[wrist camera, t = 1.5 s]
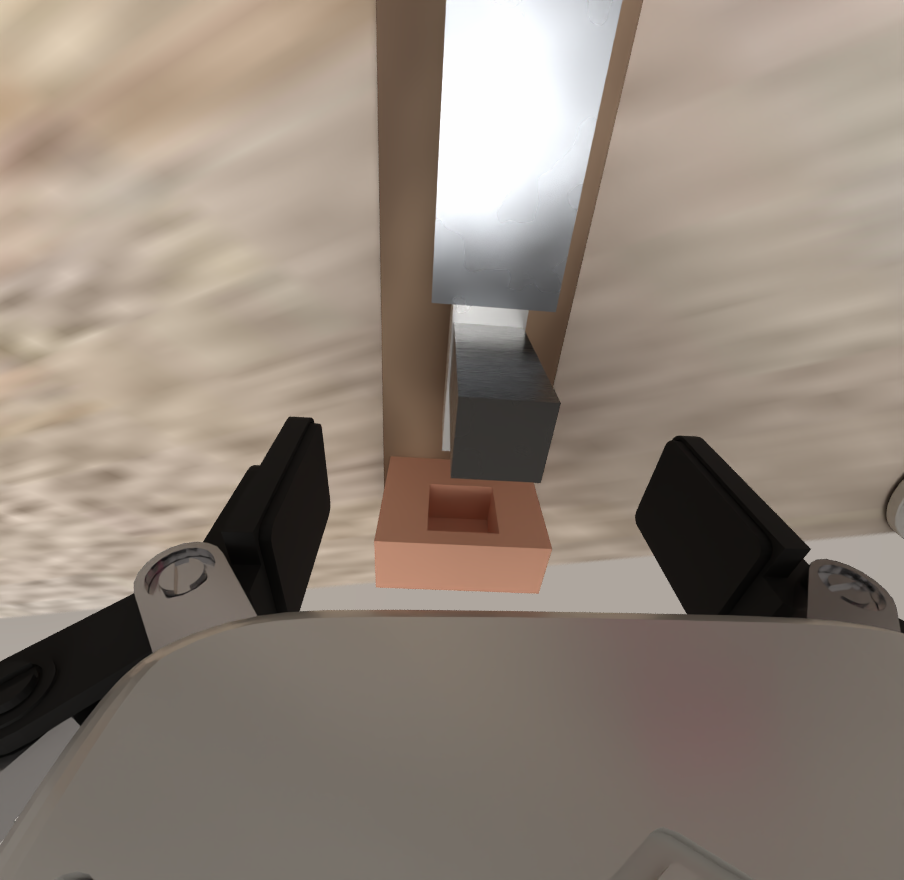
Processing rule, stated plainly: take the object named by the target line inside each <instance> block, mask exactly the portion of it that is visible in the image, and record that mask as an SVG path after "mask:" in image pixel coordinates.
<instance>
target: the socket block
mask: <svg viewBox="0 0 904 880" xmlns="http://www.w3.org/2000/svg"><path fill="white" fill-rule="evenodd" d="M374 546H375V573H376V587H380V588H407V589H432V590H458V591H485V592H511V593H536V594H538V593H539V590H540V587H541V584H542V580H543V577H544V574H545V571H546V568H547V564H548V561H549V558H550V554H551V551H552V547H551V543H550V540H549V536H548V533H547V529H546V526H545V522H544V518H543V515H542V511H541V508H540V504H539V501H538V497H537V494H536V490H535V486H534V483H532V482H513V481H494V480H475V479H456V478H451V475H450V459H433V458H415V457H397V456H391V457H390V463H389V468H388V473H387V478H386V483H385V488H384V494H383V499H382V504H381V509H380V514H379V520H378V525H377V530H376V535H375V540H374Z"/></svg>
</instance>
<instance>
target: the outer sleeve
mask: <svg viewBox="0 0 904 880" xmlns="http://www.w3.org/2000/svg"><path fill="white" fill-rule="evenodd" d="M621 5H622V0H446V18H445V38H444V58H443V79H442V99H441V119H440V140H439V160H438V181H437V201H436V221H435V242H434V262H433V282H432V303H440V304H453V305H467V306H480V307H493V308H506V309H520V310H533V311H546V312H556V309H557V304H558V299H559V294H560V290H561V285H562V280H563V276H564V271H565V266H566V262H567V257H568V252H569V248H570V243H571V238H572V234H573V229H574V224H575V220H576V215H577V210H578V206H579V201H580V196H581V192H582V187H583V182H584V178H585V173H586V168H587V164H588V159H589V154H590V150H591V145H592V140H593V136H594V131H595V126H596V122H597V117H598V112H599V108H600V103H601V98H602V94H603V89H604V84H605V80H606V75H607V70H608V66H609V61H610V56H611V52H612V47H613V42H614V38H615V33H616V28H617V24H618V19H619V14H620V10H621Z"/></svg>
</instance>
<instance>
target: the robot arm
mask: <svg viewBox="0 0 904 880" xmlns="http://www.w3.org/2000/svg"><path fill="white" fill-rule="evenodd" d="M329 513H330V495H329V486H328V477H327V469H326V460H325V451H324V442H323V434H322V427H321V424H316V423H314V420H313V418H307V417H289V418H288V419H287V420H286V422H285V424H284V426H283V427H282V429H281V431H280V432H279V434H278V436H277V437H276V439H275V441H274V443H273V444H272V446H271V448H270V449H269V451H268V453H267V454H266V456H265V458H264V460H263V461H262V463H261V465H253V466H251V467H250V468H249V469H248V470H247V472H246V474H245V475H244V477H243V478H242V480H241V482H240V483H239V485H238V486H237V488H236V490H235V491H234V493H233V494H232V496H231V498H230V499H229V501H228V503H227V504H226V506H225V507H224V509H223V511H222V512H221V514H220V515H219V517H218V519H217V520H216V522H215V523H214V525H213V527H212V528H211V530H210V532H209V533H208V535H207V536H206V538H205V540H204V541H203V542H191V543H184V544H180V545H177V546H174V547H171V548H169V549H167V550H165V551H163V552H161V553H159V554H157V555H156V556H155V557H154V558H152V559H151V560H150V561H148V562H147V563H146V564H145V565H144V566H143V568H142V569H141V570H140V571H139V572H138V574H137V577H136V579H135V581H134V594H132V595H130V596H128V597H126V598H124V599H122V600H120V601H118V602H116V603H114V604H112V605H110V606H108V607H106V608H104V609H102V610H100V611H98V612H97V613H95V614H92V615H90V616H88V617H86V618H85V619H83V620H81V621H79V622H77V623H75V624H73V625H71V626H69V627H67V628H65V629H63V630H61V631H59V632H57V633H55V634H53V635H51V636H49V637H48V638H46V639H43V640H41V641H39V642H37V643H35V644H33V645H31V646H29V647H27V648H25V649H24V650H22V651H20V652H18V653H16V654H14V655H12V656H10V657H8V658H6V659H4V660H2V661H1V662H0V842H1V841H2V840H3V839H4V840H3V842H2V843H1V845H0V880H904V621H903V620H901V619H899V618H898V613H897V608H896V605H895V603H894V600H893V598H892V597H891V596H890V595H889V593H888V592H887V591H886V590H885V589H884V588H883V587H882V586H881V585H879V584H878V583H877V582H876V581H875V580H873V579H872V578H870V577H869V576H867V575H866V574H864V573H863V572H861V571H859V570H857V569H855V568H853V567H851V566H849V565H846V564H843V563H841V562H837V561H833V560H828V559H820V560H815V561H813V562H811V564H810V565H809V564H808V563H807V562H806V561H805V560H804V559H803V558H804V557H805V556H806V555H807V553H808V552H809V551H810V550H811V549H810V548H809V547H808V546H807V545H806V544H805V543H804V542H803V541H802V540H801V538H800V537H799V536H798V535H797V534H796V533H795V532H794V531H793V530H792V529H791V528H790V527H789V526H788V525H787V524H786V523H785V522H784V521H783V520H782V519H781V518H780V517H779V516H778V515H777V514H776V513H775V512H774V511H773V510H772V509H771V508H770V507H769V506H768V505H767V504H766V503H765V502H764V501H763V500H762V499H761V498H760V497H759V496H758V495H757V494H756V493H755V492H754V491H753V490H752V489H751V488H750V487H749V486H748V484H747V483H746V482H745V481H744V480H743V479H742V478H741V477H740V476H739V475H738V474H737V473H736V472H735V471H734V470H733V469H732V468H731V467H730V466H729V465H728V464H727V463H726V462H725V461H724V460H723V459H722V458H721V457H720V456H719V455H718V454H717V453H716V452H715V451H714V450H713V449H712V448H711V447H710V446H709V445H708V444H707V443H706V442H705V441H704V440H703V439H702V438H701V437H695V436H676V437H675V438H673V440H672V441H669V442H667V444H666V445H665V448H664V450H663V452H662V454H661V457H660V459H659V461H658V463H657V466H656V468H655V470H654V473H653V475H652V477H651V479H650V482H649V484H648V486H647V488H646V491H645V493H644V495H643V497H642V500H641V502H640V504H639V507H638V509H637V511H636V515H635V520H636V524H637V526H638V528H639V530H640V531H641V533H642V535H643V537H644V539H645V540H646V542H647V544H648V546H649V548H650V549H651V551H652V553H653V555H654V556H655V558H656V560H657V562H658V563H659V565H660V567H661V569H662V571H663V572H664V574H665V576H666V578H667V580H668V581H669V583H670V585H671V587H672V588H673V590H674V592H675V594H676V596H677V597H678V599H679V601H680V603H681V605H682V606H683V608H684V610H685V612H686V613H687V614H646V613H645V614H644V613H593V612H592V613H591V612H589V613H588V612H533V611H530V612H529V611H457V610H456V611H455V610H454V611H452V610H322V611H300V608H301V605H302V601H303V598H304V595H305V592H306V588H307V585H308V582H309V579H310V575H311V572H312V569H313V566H314V562H315V559H316V556H317V552H318V549H319V546H320V543H321V539H322V536H323V533H324V530H325V526H326V523H327V520H328V517H329ZM886 516H887V521H888V524H889V525H890V527H891V528H892V530H894V531H895V532H896V533H897V534H898V535H900V536H901V537H902V538H903V539H904V479H903V480H902V481H901V482H900V484H899V485H898V486H897V488H896V489H895V491H894V492H893V494H892V496H891V498H890V501H889V503H888V506H887V513H886ZM299 611H300V612H299ZM18 816H19V817H18ZM17 817H18V818H17ZM16 818H17V820H16V821H14V820H15V819H16Z"/></svg>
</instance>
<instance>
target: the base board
mask: <svg viewBox="0 0 904 880" xmlns="http://www.w3.org/2000/svg"><path fill="white" fill-rule="evenodd" d="M642 3H643V0H622V5H621V10H620V14H619V19H618V24H617V28H616V33H615V38H614V42H613V47H612V52H611V56H610V61H609V66H608V70H607V75H606V80H605V84H604V89H603V94H602V98H601V103H600V108H599V112H598V117H597V122H596V126H595V131H594V136H593V140H592V145H591V150H590V154H589V159H588V164H587V168H586V173H585V178H584V182H583V187H582V192H581V196H580V201H579V206H578V210H577V215H576V220H575V224H574V229H573V234H572V238H571V243H570V248H569V252H568V257H567V262H566V266H565V271H564V276H563V280H562V285H561V290H560V294H559V299H558V304H557V309H556V312H546V311H533V310H529V312H528V317H527V323H526V329H525V332H526V334H527V336H528V338H529V340H530V342H531V344H532V346H533V348H534V350H535V352H536V354H537V356H538V358H539V360H540V362H541V364H542V366H543V368H544V370H545V372H546V375H547V377H548V379H549V381H550V383H551V385H552V387H553V384H554V380H555V376H556V372H557V367H558V363H559V359H560V354H561V350H562V346H563V342H564V337H565V333H566V329H567V324H568V320H569V316H570V312H571V307H572V303H573V299H574V294H575V290H576V286H577V282H578V277H579V273H580V269H581V264H582V260H583V256H584V252H585V247H586V243H587V239H588V234H589V230H590V226H591V222H592V217H593V213H594V209H595V205H596V200H597V196H598V192H599V187H600V183H601V179H602V175H603V170H604V166H605V162H606V157H607V153H608V149H609V145H610V140H611V136H612V132H613V127H614V123H615V119H616V115H617V110H618V106H619V102H620V97H621V93H622V89H623V85H624V80H625V76H626V72H627V68H628V63H629V59H630V55H631V50H632V46H633V42H634V38H635V33H636V29H637V25H638V20H639V16H640V12H641V8H642ZM445 18H446V0H376V24H377V84H378V144H379V203H380V263H381V323H382V382H383V442H384V488H385V483H386V478H387V473H388V468H389V463H390V457H391V456H397V457H415V458H433V459H450V451H442V418H443V405H444V391H445V378H446V364H447V351H448V338H449V324H450V311H451V304H440V303H432V282H433V262H434V242H435V221H436V201H437V181H438V160H439V140H440V119H441V99H442V79H443V58H444V38H445Z"/></svg>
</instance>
